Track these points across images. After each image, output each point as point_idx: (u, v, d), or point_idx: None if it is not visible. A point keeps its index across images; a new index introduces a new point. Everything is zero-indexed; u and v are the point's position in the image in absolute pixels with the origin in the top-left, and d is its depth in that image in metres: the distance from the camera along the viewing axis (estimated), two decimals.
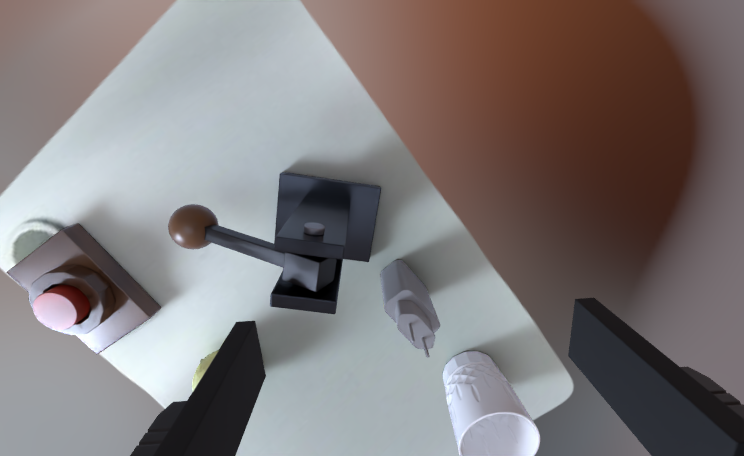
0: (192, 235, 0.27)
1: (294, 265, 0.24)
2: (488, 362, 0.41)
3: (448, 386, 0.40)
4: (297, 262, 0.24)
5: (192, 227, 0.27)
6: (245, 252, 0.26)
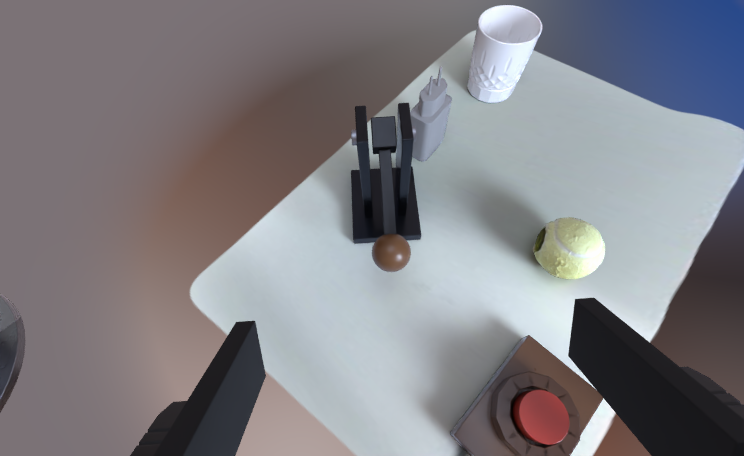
0: (391, 238, 0.32)
1: (381, 137, 0.32)
2: (469, 74, 0.52)
3: (497, 86, 0.49)
4: (377, 135, 0.32)
5: (385, 240, 0.32)
6: (391, 189, 0.33)
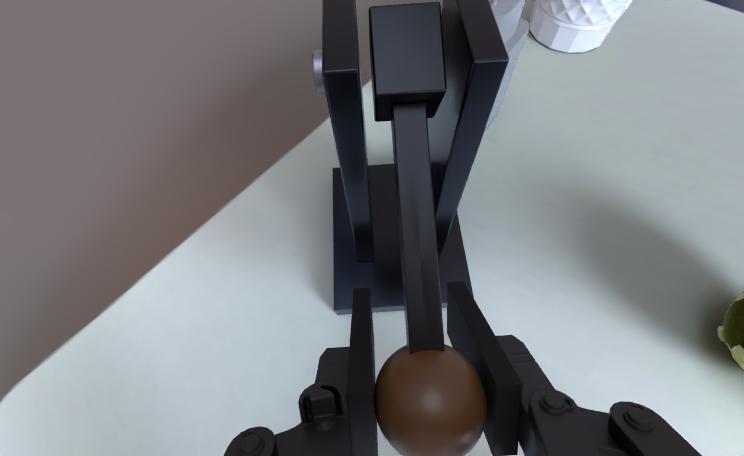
0: (435, 374, 0.10)
1: (399, 65, 0.11)
2: (535, 4, 0.31)
3: (593, 18, 0.28)
4: (389, 58, 0.11)
5: (414, 377, 0.10)
6: (428, 220, 0.11)
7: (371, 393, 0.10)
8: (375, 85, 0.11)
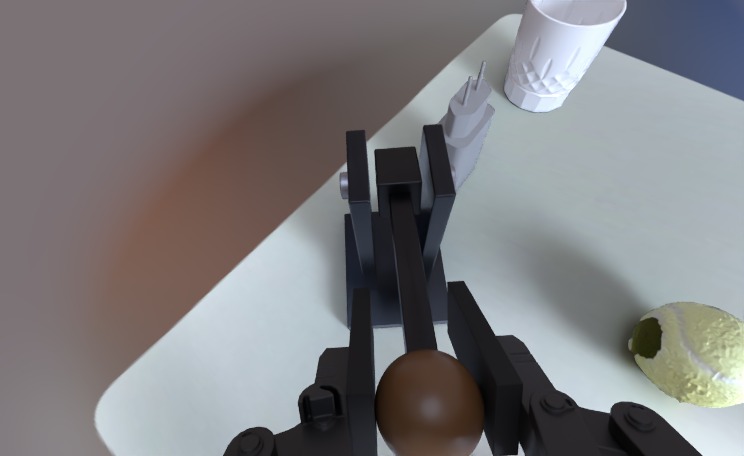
0: (428, 354, 0.12)
1: (392, 171, 0.18)
2: (508, 72, 0.38)
3: (551, 90, 0.35)
4: (386, 169, 0.18)
5: (409, 358, 0.12)
6: (416, 255, 0.15)
7: (371, 393, 0.10)
8: (377, 180, 0.17)
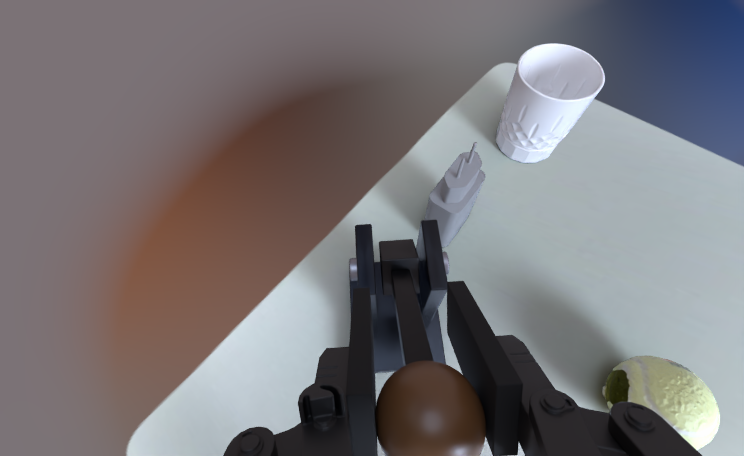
0: None
1: (393, 252, 0.21)
2: (499, 125, 0.41)
3: (538, 146, 0.38)
4: (388, 251, 0.21)
5: (408, 364, 0.12)
6: (415, 306, 0.17)
7: (371, 393, 0.10)
8: (381, 257, 0.21)
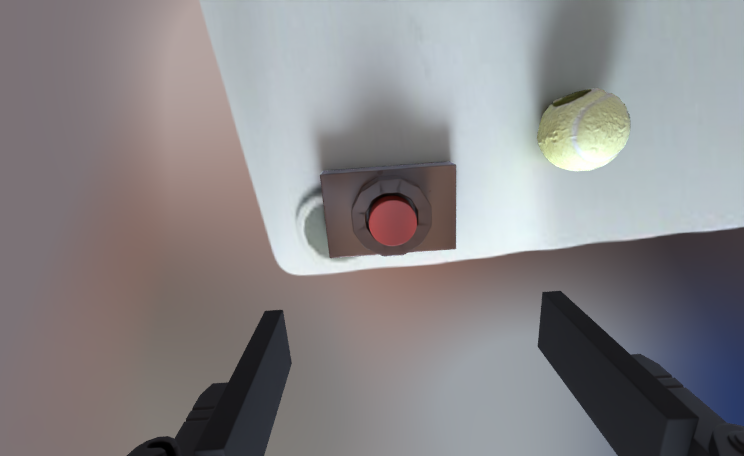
0: None
1: None
2: None
3: None
4: None
5: None
6: None
7: (223, 448, 0.09)
8: None
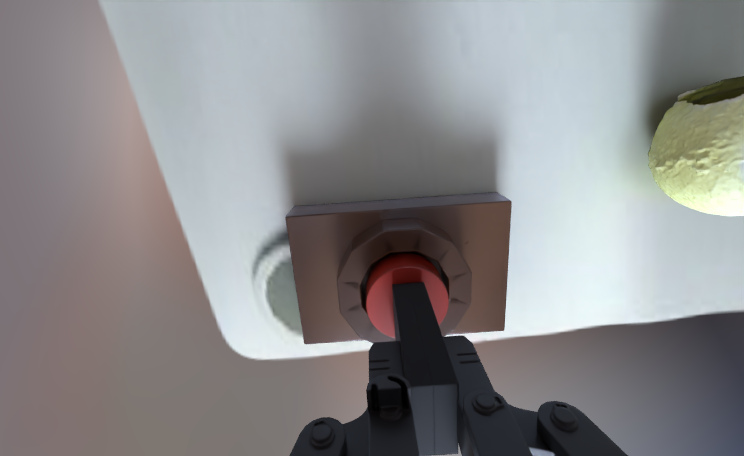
0: None
1: None
2: None
3: None
4: None
5: None
6: None
7: (432, 385, 0.10)
8: None
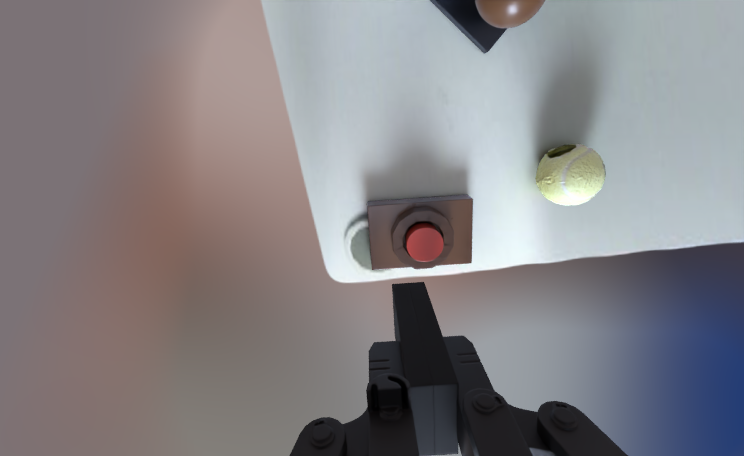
0: None
1: None
2: None
3: None
4: None
5: None
6: None
7: (432, 385, 0.10)
8: None
